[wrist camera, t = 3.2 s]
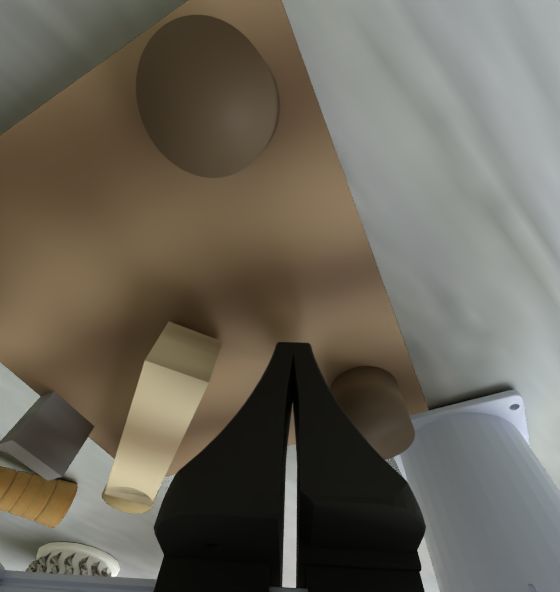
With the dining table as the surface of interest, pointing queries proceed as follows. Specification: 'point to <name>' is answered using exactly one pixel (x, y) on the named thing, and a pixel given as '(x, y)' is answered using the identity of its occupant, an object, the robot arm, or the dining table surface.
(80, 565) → the decorative candle
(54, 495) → the kendama
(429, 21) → the dining table surface
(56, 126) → the stool seat
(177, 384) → the hinged leg
